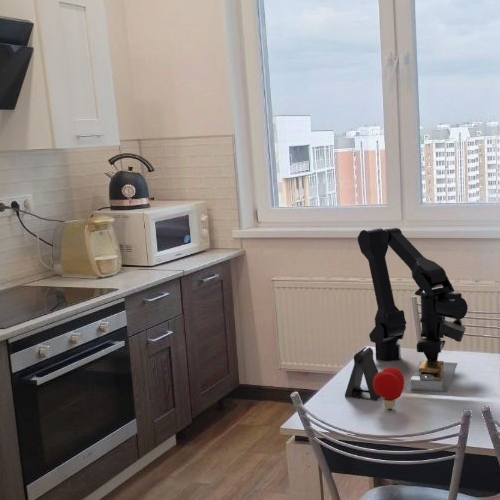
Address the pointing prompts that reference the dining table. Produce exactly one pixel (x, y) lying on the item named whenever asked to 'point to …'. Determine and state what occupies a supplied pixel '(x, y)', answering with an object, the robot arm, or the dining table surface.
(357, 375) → the dark grey a-frame stand
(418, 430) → the dining table surface
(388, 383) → the table tennis paddles
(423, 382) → the grey stepped plate
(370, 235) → the robot arm
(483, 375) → the dining table surface
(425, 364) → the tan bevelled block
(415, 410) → the dining table surface
